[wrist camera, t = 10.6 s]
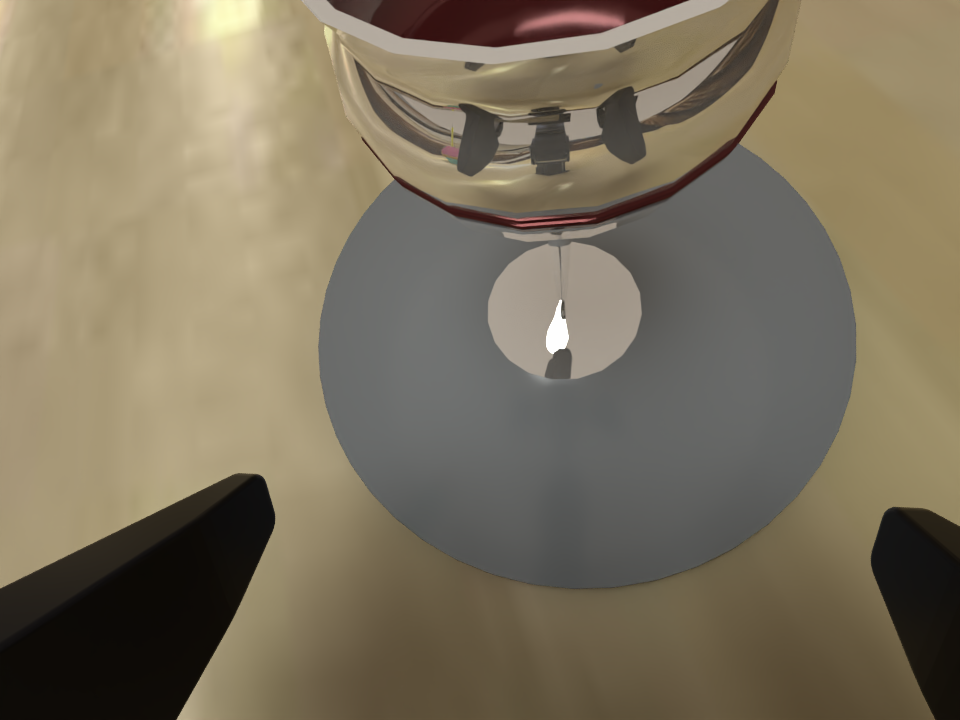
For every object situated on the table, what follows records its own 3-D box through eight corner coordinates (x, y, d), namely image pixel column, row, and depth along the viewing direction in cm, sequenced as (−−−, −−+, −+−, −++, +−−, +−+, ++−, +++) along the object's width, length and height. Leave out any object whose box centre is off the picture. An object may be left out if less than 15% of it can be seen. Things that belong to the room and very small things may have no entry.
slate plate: (947, 252, 16) (965, 237, 16) (638, 733, 13) (642, 744, 13) (518, 62, 22) (516, 45, 21) (238, 370, 19) (224, 362, 18)
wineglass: (517, 195, 19) (434, -320, 8) (704, 258, 17) (959, -322, 6) (424, 355, 17) (154, -4, 6) (619, 446, 15) (742, 151, 4)
